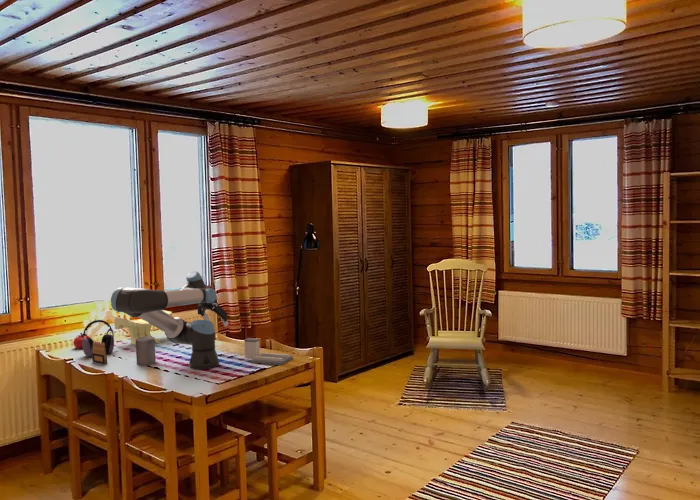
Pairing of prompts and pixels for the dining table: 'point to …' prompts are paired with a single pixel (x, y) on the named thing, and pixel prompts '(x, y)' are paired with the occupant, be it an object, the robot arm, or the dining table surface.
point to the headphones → (107, 340)
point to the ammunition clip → (99, 353)
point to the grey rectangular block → (252, 347)
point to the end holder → (272, 358)
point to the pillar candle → (145, 350)
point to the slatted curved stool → (136, 327)
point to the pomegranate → (79, 341)
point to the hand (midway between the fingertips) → (217, 324)
